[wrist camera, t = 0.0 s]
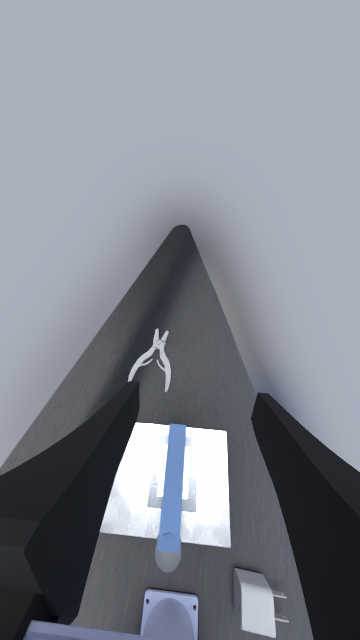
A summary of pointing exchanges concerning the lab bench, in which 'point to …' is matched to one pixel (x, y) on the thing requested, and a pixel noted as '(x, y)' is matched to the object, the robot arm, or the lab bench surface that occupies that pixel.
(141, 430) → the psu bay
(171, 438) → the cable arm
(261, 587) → the usb wall charger
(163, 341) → the pliers
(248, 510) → the lab bench surface
